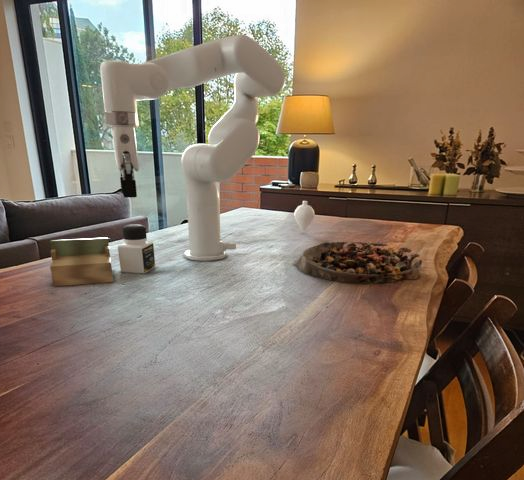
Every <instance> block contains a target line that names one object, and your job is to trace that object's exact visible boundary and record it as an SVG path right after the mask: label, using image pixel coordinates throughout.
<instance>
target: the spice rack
mask: <svg viewBox="0 0 524 480" xmlns="http://www.w3.org/2000/svg"><path fill="white" fill-rule="evenodd" d="M49 243H50V247H51V250H50V257H51V262H50V266H49V270H50V274H51V279H52V284H53V287H63V286H64V287H65V286H75V285H90V284H102V283H103V284H105V283H113V282H114V275H113V268H112V259H111V252H110V245H109V238H108V237H91V238H90V237H89V238H71V239H69V238H68V239H67V238H66V239H51V240H50V242H49Z"/></svg>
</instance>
